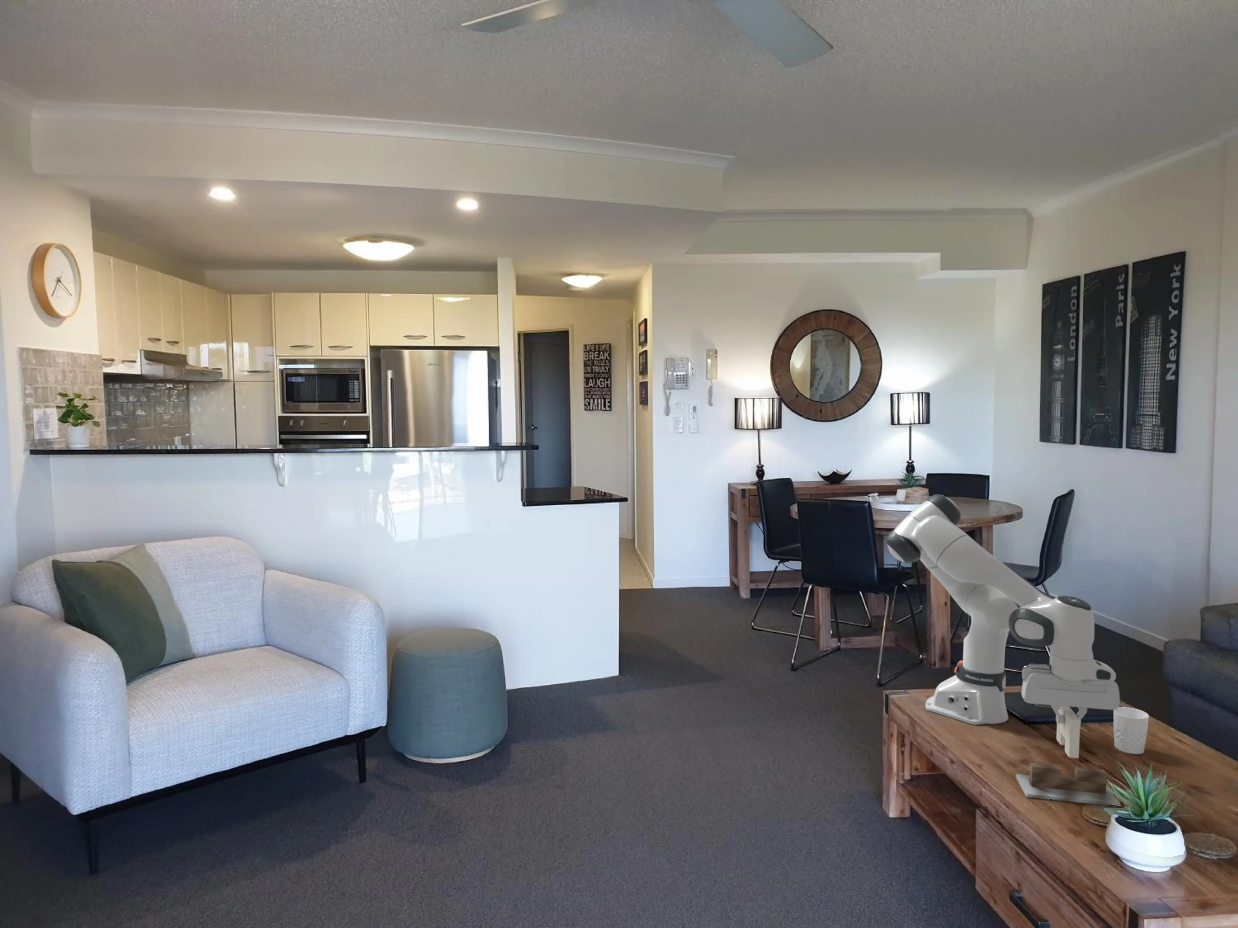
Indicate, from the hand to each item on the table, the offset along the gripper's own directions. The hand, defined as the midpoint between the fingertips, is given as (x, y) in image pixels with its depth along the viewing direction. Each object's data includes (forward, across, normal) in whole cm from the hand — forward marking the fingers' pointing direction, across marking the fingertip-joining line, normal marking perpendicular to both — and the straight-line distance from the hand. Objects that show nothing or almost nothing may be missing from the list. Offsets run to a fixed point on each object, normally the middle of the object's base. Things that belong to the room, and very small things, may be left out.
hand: (1068, 723), depth 188 cm
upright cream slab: (+6, 0, 0) cm, 6 cm away
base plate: (+17, 0, 0) cm, 17 cm away
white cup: (+17, +23, +29) cm, 41 cm away
